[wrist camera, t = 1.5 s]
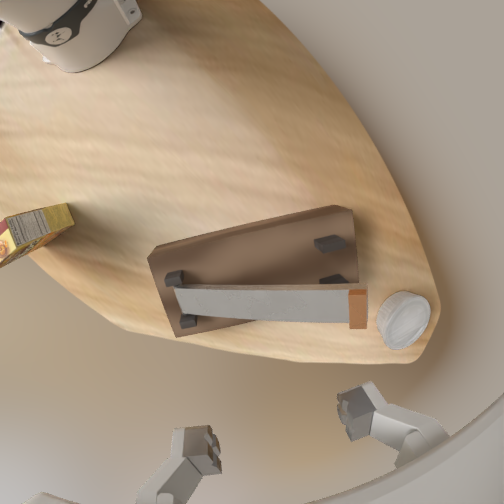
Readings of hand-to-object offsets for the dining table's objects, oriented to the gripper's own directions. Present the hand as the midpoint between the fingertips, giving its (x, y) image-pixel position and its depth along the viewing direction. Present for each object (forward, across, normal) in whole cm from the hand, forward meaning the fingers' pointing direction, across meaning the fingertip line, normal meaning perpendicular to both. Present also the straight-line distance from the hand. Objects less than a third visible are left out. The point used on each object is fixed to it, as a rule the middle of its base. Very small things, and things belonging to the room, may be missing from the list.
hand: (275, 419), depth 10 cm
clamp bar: (+19, -1, +4) cm, 20 cm away
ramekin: (+32, -27, +21) cm, 46 cm away
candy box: (+31, +28, -10) cm, 43 cm away
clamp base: (+31, -2, +4) cm, 32 cm away
